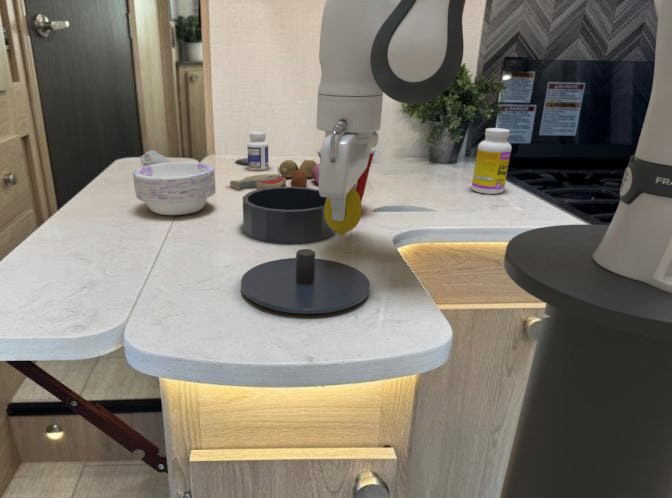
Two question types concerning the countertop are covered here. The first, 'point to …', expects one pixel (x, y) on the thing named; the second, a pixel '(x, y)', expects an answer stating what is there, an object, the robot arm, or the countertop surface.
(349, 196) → the lemon
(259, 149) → the pill bottle
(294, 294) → the lid
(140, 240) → the countertop surface
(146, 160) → the frog figurine
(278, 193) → the pot
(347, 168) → the robot arm
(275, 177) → the toy food set
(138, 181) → the paper bowls
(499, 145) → the supplement bottle
